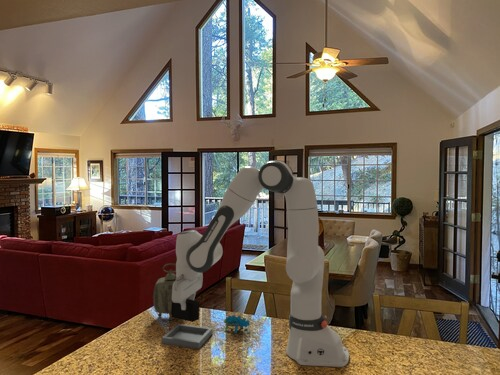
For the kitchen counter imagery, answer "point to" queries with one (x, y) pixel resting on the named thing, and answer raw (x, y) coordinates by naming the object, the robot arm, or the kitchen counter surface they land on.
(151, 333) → the kitchen counter surface
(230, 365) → the kitchen counter surface
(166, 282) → the tabletop clock
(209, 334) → the tray
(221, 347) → the kitchen counter surface
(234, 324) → the blue lumpy piece
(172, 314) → the digital camera
